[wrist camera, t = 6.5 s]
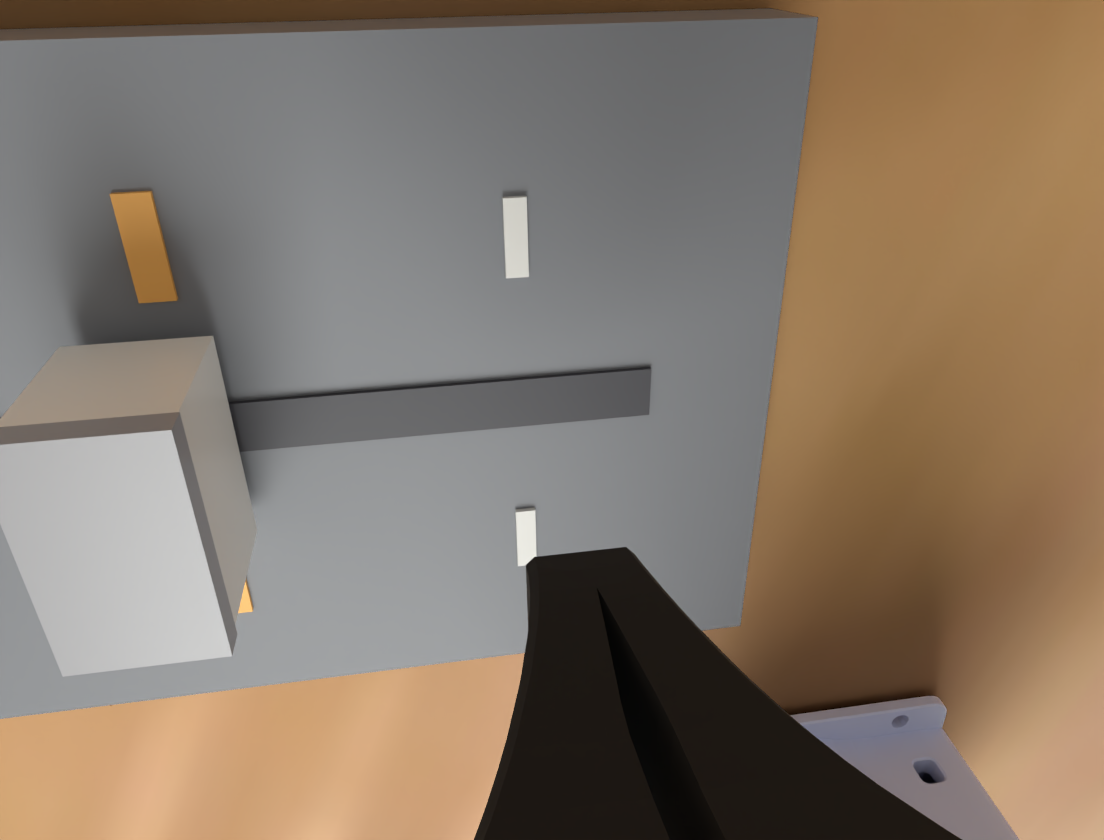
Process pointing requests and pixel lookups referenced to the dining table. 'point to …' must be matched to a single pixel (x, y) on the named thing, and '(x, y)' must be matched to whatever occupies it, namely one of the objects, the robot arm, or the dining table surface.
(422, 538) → the console
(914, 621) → the dining table surface
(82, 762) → the dining table surface
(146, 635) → the fader tab
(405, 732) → the dining table surface
